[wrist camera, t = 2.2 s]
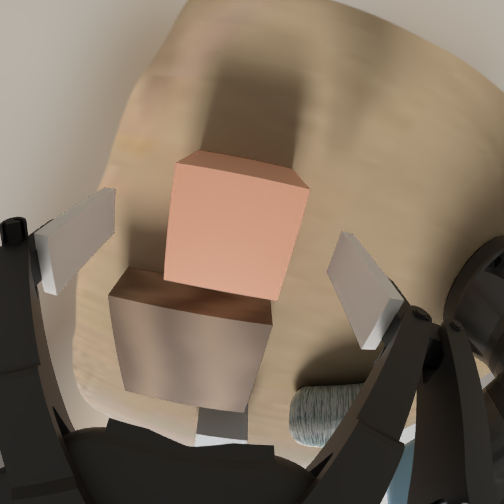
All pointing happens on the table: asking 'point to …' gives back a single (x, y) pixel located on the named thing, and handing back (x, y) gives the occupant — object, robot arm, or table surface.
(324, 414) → the yarn skein
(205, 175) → the terracotta cube
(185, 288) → the walnut block
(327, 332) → the table surface
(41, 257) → the robot arm
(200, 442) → the grey cube
